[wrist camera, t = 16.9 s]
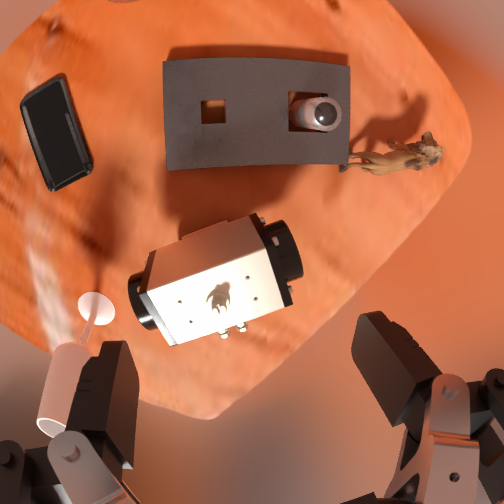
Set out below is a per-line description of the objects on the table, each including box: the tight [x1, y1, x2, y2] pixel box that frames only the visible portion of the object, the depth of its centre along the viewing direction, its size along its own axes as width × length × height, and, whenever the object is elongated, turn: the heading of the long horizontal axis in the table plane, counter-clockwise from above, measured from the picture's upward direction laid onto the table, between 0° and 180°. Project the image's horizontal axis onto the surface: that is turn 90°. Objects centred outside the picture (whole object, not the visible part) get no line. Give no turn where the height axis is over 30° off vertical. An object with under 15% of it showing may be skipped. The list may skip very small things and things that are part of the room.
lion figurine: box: [339, 131, 444, 176], centre depth 38 cm, size 15×5×9 cm, turn 114°
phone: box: [20, 77, 93, 192], centre depth 33 cm, size 8×1×15 cm
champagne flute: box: [37, 292, 115, 438], centre depth 34 cm, size 7×7×24 cm
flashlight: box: [288, 97, 342, 131], centre depth 35 cm, size 4×4×8 cm
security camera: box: [128, 213, 304, 346], centre depth 36 cm, size 18×8×18 cm, turn 108°
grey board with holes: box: [163, 57, 350, 171], centre depth 36 cm, size 14×24×2 cm, turn 91°
